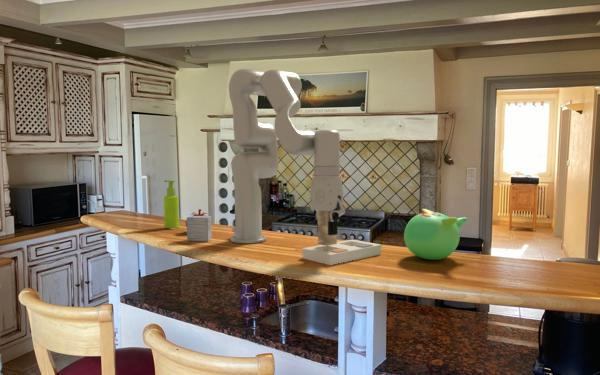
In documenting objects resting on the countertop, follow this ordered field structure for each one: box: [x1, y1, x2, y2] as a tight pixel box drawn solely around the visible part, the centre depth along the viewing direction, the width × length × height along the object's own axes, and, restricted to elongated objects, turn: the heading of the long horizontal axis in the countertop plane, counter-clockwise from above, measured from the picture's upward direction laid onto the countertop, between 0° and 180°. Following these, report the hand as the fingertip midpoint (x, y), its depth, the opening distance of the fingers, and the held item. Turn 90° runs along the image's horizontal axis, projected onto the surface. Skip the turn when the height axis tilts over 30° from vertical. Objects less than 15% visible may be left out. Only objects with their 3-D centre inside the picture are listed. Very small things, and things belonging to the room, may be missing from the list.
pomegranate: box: [184, 208, 212, 228], centre depth 188 cm, size 10×10×9 cm
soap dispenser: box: [163, 179, 180, 229], centre depth 199 cm, size 6×7×20 cm
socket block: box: [301, 239, 382, 266], centre depth 146 cm, size 12×22×3 cm, turn 131°
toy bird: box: [403, 208, 469, 261], centre depth 142 cm, size 18×17×15 cm
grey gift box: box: [186, 215, 213, 242], centre depth 172 cm, size 8×4×9 cm, turn 84°
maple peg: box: [317, 210, 338, 246], centre depth 142 cm, size 4×4×11 cm
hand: (327, 233), depth 142 cm, fingers closed on maple peg, 4 cm apart
